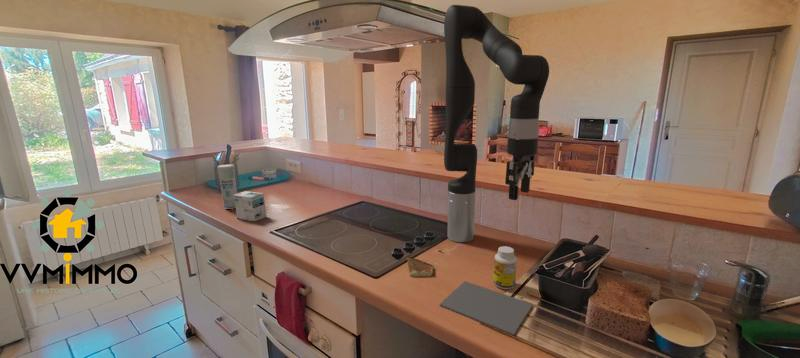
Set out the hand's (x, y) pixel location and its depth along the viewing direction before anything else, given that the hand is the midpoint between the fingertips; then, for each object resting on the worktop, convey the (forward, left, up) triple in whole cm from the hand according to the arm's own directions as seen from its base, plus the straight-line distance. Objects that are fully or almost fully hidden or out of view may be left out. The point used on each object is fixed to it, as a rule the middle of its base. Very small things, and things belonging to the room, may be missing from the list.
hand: (519, 195), depth 93 cm
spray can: (+18, -127, -23) cm, 130 cm away
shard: (+16, -24, -23) cm, 37 cm away
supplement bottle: (+9, 0, -23) cm, 24 cm away
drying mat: (+21, 0, -22) cm, 30 cm away
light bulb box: (+20, -106, -23) cm, 110 cm away
